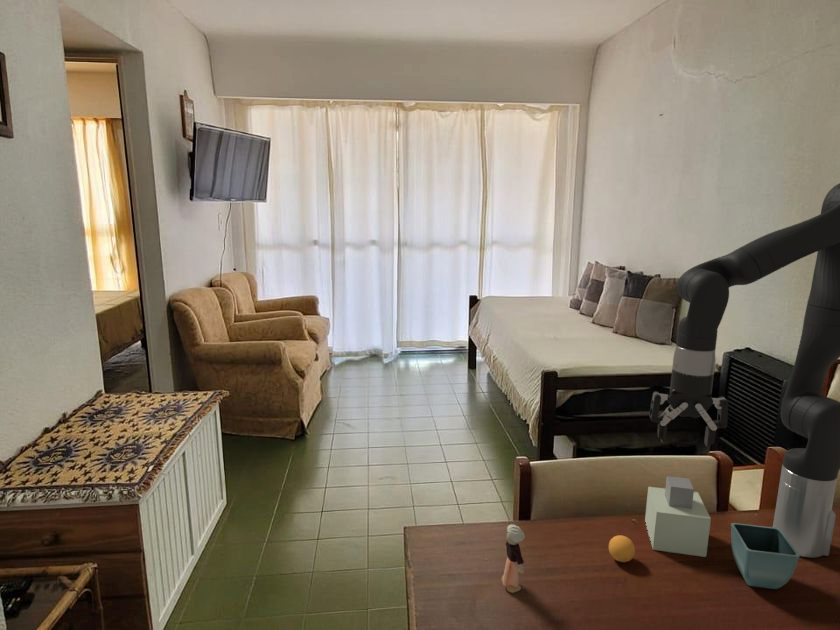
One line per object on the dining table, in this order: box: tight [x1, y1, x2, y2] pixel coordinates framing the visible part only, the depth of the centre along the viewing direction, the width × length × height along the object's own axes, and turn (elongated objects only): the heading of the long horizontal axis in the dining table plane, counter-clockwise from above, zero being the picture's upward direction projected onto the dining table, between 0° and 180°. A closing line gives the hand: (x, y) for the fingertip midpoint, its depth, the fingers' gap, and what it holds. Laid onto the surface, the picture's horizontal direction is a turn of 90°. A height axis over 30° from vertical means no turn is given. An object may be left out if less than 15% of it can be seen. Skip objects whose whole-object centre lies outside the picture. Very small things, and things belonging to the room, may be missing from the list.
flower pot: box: [730, 522, 801, 590], centre depth 102 cm, size 9×9×9 cm
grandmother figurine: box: [500, 524, 525, 594], centre depth 100 cm, size 8×4×13 cm, turn 23°
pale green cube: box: [644, 476, 712, 558], centre depth 114 cm, size 10×10×13 cm
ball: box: [608, 534, 636, 563], centre depth 108 cm, size 5×5×5 cm
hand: (684, 443), depth 111 cm, fingers open, 8 cm apart
